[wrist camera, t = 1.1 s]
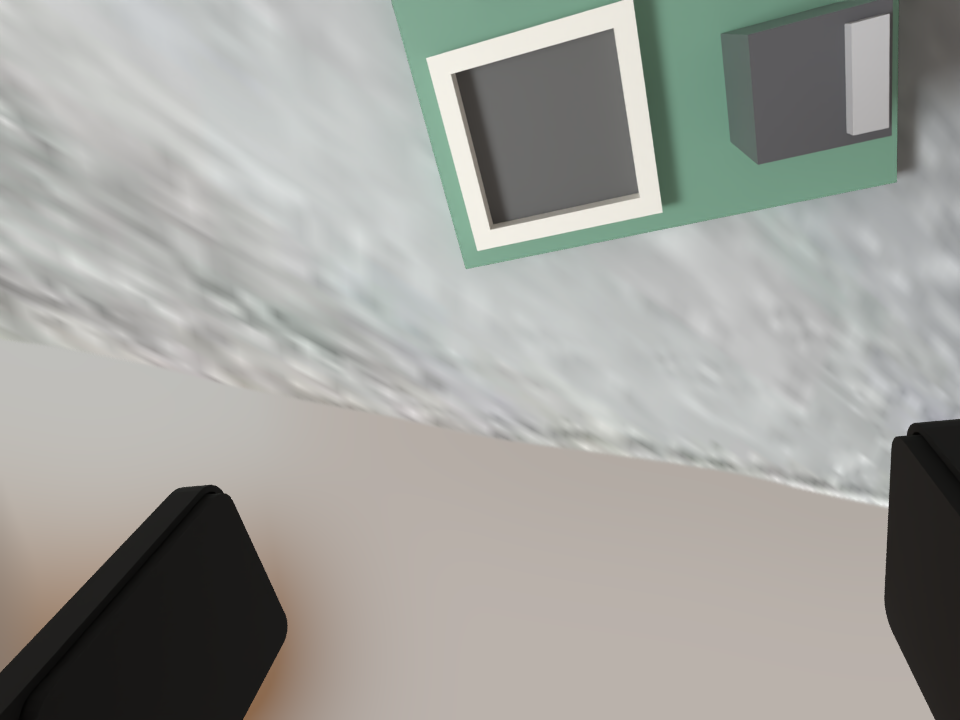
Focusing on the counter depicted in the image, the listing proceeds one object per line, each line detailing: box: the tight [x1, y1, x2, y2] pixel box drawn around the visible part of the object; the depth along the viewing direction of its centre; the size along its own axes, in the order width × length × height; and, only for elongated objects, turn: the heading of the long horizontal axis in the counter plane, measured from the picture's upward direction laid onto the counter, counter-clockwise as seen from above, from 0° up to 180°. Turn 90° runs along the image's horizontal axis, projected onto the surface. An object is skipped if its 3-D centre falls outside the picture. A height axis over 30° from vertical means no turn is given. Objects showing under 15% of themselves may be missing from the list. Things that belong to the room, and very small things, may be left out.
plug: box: [721, 0, 893, 165], centre depth 22 cm, size 4×4×6 cm
